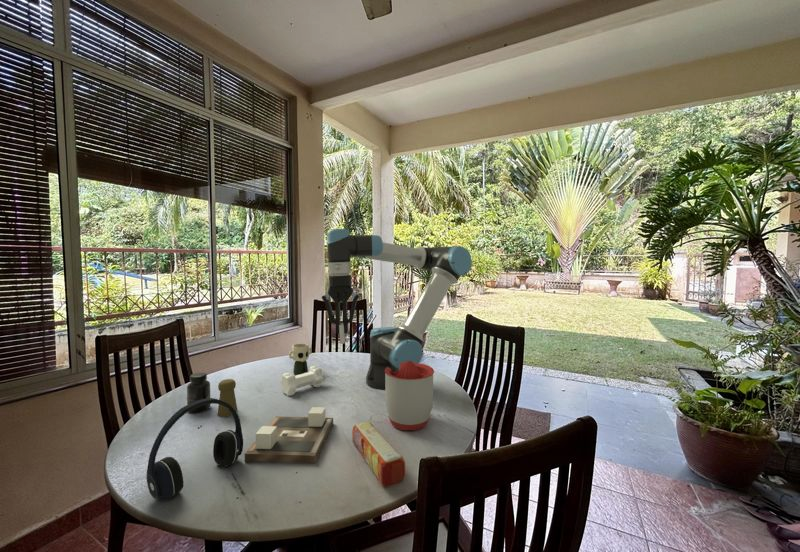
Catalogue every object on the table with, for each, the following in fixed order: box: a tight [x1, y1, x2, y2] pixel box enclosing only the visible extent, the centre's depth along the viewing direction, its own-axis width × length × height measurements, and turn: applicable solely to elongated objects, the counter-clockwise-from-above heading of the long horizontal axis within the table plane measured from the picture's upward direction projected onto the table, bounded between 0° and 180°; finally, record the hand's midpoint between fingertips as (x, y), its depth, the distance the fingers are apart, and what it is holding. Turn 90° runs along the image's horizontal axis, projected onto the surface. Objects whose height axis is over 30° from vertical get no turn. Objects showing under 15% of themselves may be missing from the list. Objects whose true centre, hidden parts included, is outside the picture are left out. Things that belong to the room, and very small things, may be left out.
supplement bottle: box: [186, 372, 212, 414], centre depth 114 cm, size 7×7×12 cm
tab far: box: [307, 406, 326, 427], centre depth 100 cm, size 4×4×4 cm
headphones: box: [145, 397, 244, 500], centre depth 78 cm, size 20×7×18 cm, turn 148°
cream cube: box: [255, 425, 277, 449], centre depth 89 cm, size 4×4×4 cm
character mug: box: [288, 343, 313, 376], centre depth 149 cm, size 11×7×13 cm, turn 136°
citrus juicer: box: [384, 360, 435, 431], centre depth 106 cm, size 16×17×20 cm
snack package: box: [351, 420, 406, 488], centre depth 85 cm, size 21×7×7 cm, turn 27°
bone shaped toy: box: [280, 365, 325, 397], centre depth 131 cm, size 15×9×8 cm, turn 136°
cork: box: [217, 378, 238, 418], centre depth 111 cm, size 6×6×11 cm
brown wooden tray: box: [244, 416, 334, 464], centre depth 95 cm, size 18×20×2 cm
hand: (342, 342), depth 116 cm, fingers closed
